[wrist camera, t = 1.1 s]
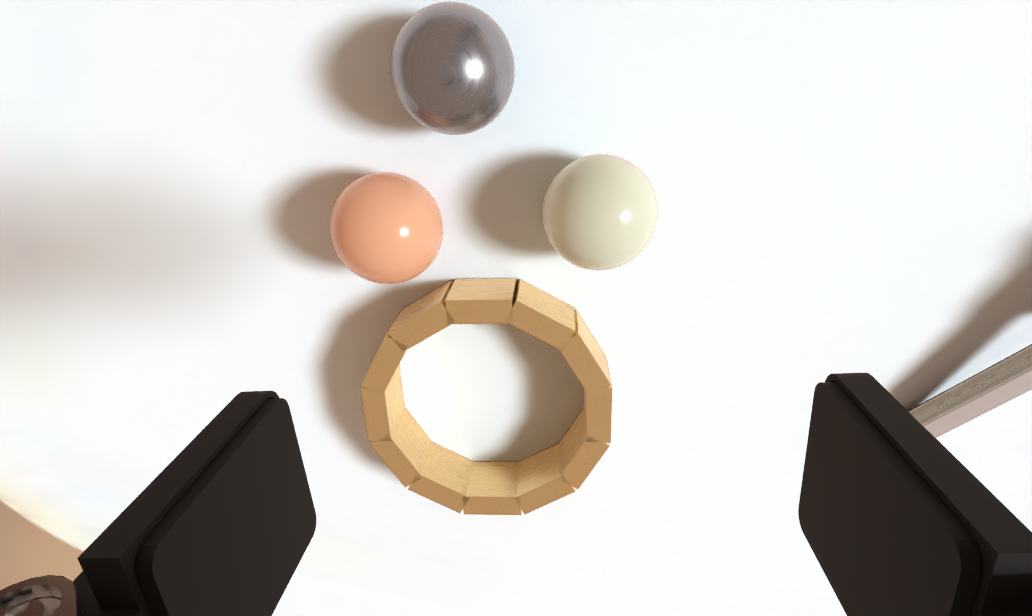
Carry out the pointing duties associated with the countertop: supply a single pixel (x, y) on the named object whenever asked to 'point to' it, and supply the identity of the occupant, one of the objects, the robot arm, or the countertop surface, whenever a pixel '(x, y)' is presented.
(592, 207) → the cream ball
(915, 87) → the countertop surface
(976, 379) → the caliper
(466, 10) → the steel ball
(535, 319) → the ring
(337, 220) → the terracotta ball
